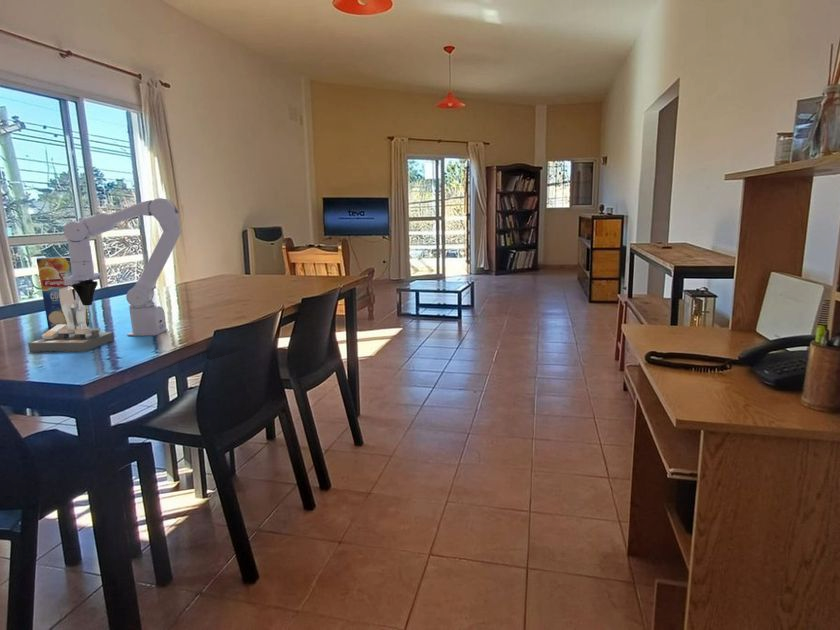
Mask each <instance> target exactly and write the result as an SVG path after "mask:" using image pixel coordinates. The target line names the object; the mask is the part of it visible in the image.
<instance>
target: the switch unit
mask: <svg viewBox="0 0 840 630" xmlns="http://www.w3.org/2000/svg"><path fill="white" fill-rule="evenodd" d="M47 331H48V330H46V331H44V332H43V334H45V333H46V332H47ZM112 341H115V334H114V331H104V332H103V331H102V332H101V331H100V333H99V331H98V330H94V331H91V334H63V333H58V335H57V336H56V337H55V338H53V339H43V338H40V339H37V340H35V341H31V342H29V343H27V344H28V351H29V352H30V353H34V352H35V353H41V352H40V351H63V352H88V351H90V350H92V348H93V349H95V348H97V346H98V347H100V346H103V345H104V344H107V343H110V342H112ZM102 344H103V345H102ZM99 345H100V346H99Z"/></svg>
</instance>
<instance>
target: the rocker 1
mask: <svg viewBox="0 0 840 630" xmlns="http://www.w3.org/2000/svg"><path fill="white" fill-rule="evenodd" d="M67 328H68V327H67V324H58V325H56V326H55V327H53V328H52V329H50V330H49V329H48V330H46V331H47V332H46V333H45V334H44V333H43V334H41V337H42V338H41V339H53V338H55V337H56V336H57V335H58V329H67Z"/></svg>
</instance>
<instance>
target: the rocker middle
mask: <svg viewBox="0 0 840 630" xmlns="http://www.w3.org/2000/svg"><path fill="white" fill-rule="evenodd" d="M75 330H77V329H58V333H63V334H75Z"/></svg>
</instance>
